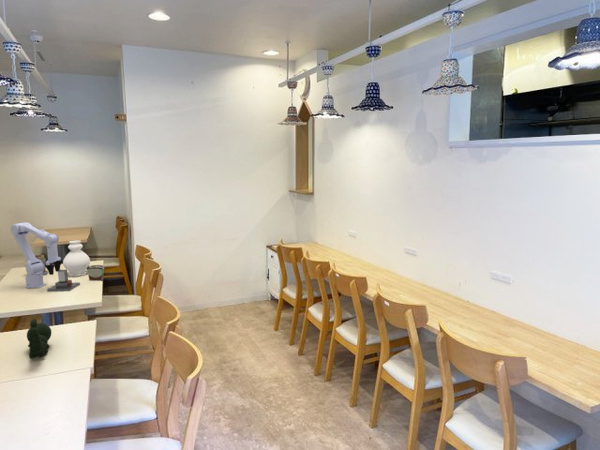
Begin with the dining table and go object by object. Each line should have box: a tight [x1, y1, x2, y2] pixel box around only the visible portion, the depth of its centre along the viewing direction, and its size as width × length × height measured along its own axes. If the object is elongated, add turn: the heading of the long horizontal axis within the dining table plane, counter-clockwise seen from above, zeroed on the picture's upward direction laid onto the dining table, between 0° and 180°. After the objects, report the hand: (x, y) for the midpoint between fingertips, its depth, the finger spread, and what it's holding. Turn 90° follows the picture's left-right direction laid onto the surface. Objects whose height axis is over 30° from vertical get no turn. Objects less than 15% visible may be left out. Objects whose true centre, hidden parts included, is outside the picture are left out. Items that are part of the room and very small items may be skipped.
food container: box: [85, 264, 105, 282], centre depth 292 cm, size 12×6×10 cm, turn 84°
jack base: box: [46, 279, 81, 292], centre depth 273 cm, size 14×14×5 cm
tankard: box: [25, 254, 49, 277], centre depth 301 cm, size 20×13×15 cm, turn 25°
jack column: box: [57, 269, 69, 282], centre depth 272 cm, size 4×4×7 cm
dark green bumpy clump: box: [26, 318, 52, 360], centre depth 181 cm, size 9×19×25 cm
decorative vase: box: [62, 239, 91, 277], centre depth 304 cm, size 18×18×25 cm
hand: (54, 273), depth 271 cm, fingers open, 7 cm apart
